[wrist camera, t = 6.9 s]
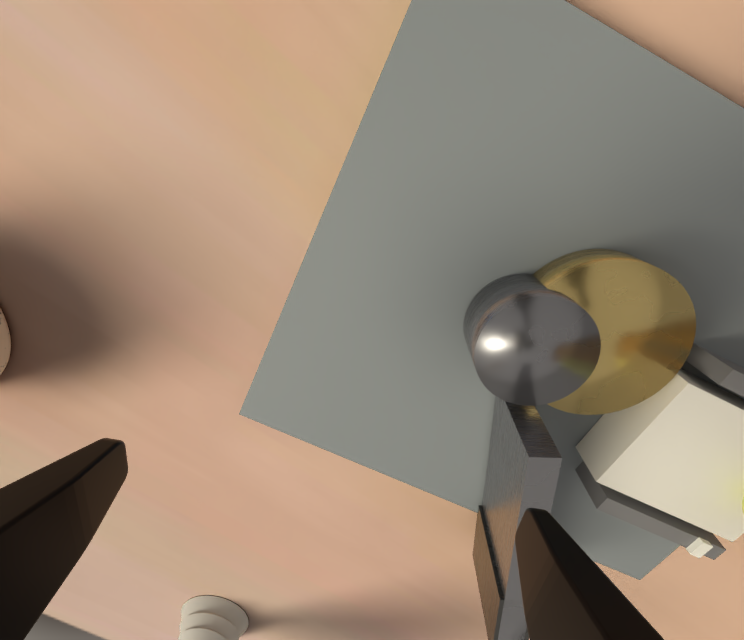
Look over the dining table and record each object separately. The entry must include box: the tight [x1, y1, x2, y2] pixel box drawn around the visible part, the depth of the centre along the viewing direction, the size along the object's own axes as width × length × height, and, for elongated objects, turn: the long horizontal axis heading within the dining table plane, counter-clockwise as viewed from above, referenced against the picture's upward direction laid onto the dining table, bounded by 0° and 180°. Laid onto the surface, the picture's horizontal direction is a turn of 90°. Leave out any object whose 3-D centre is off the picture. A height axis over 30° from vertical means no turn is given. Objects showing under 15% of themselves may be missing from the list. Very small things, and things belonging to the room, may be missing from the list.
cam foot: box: [576, 369, 744, 542], centre depth 18 cm, size 6×8×5 cm
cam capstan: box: [463, 249, 696, 640], centre depth 18 cm, size 9×18×5 cm, turn 1°
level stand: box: [239, 0, 744, 580], centre depth 18 cm, size 22×26×4 cm
